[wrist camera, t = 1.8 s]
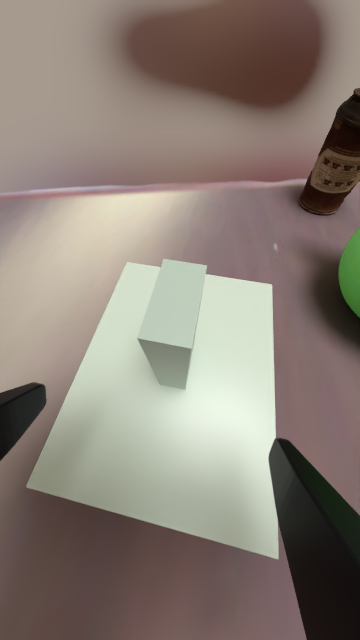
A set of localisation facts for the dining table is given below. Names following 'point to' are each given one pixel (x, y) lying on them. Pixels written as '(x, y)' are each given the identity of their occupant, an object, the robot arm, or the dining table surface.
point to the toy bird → (351, 273)
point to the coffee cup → (336, 161)
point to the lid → (174, 408)
